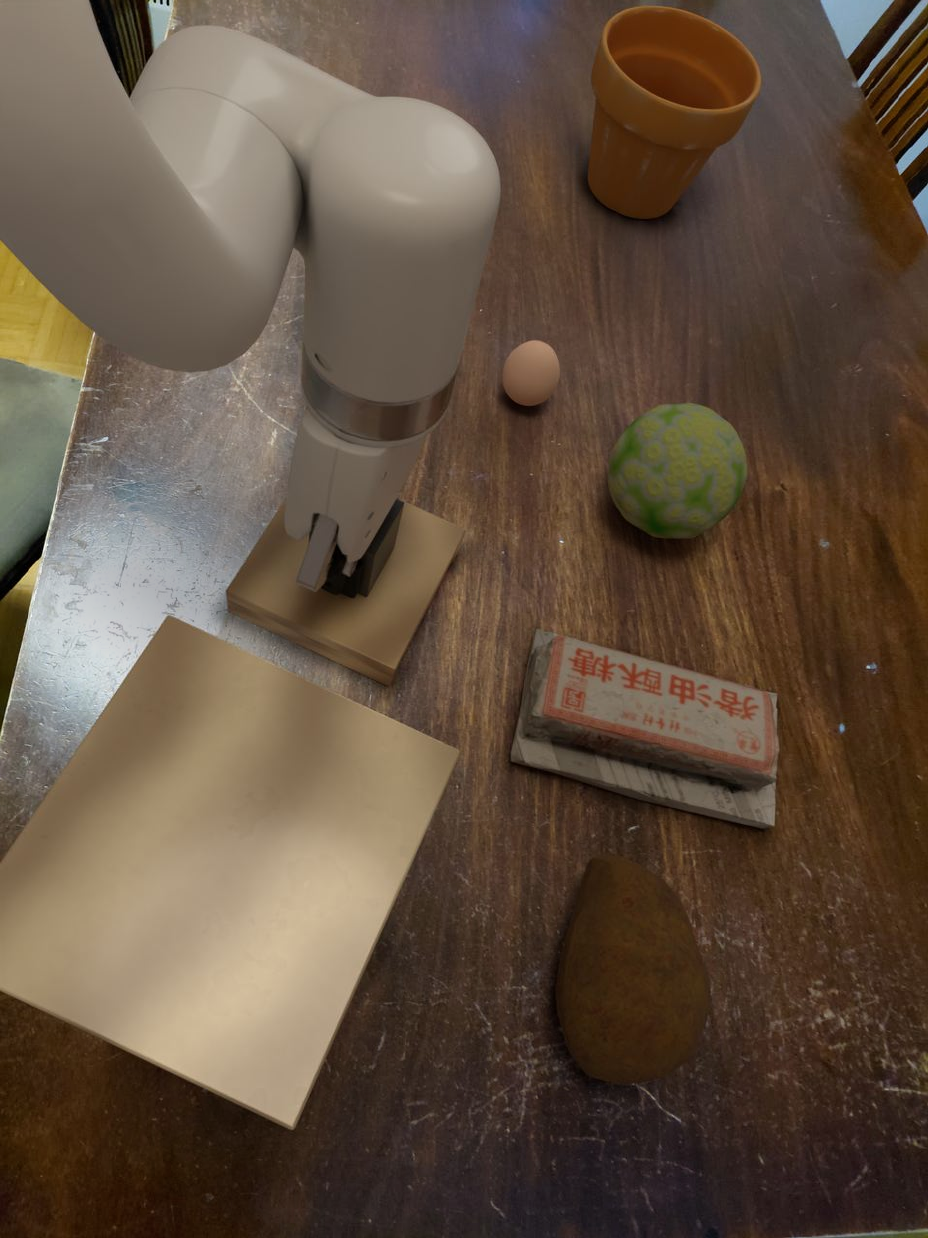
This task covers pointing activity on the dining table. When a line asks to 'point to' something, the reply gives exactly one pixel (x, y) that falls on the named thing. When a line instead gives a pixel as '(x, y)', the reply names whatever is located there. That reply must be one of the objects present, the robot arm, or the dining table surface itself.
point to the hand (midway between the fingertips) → (351, 554)
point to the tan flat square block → (336, 623)
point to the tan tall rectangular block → (218, 868)
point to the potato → (630, 976)
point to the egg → (531, 373)
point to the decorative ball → (677, 470)
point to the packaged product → (649, 730)
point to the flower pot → (663, 105)
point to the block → (378, 548)
